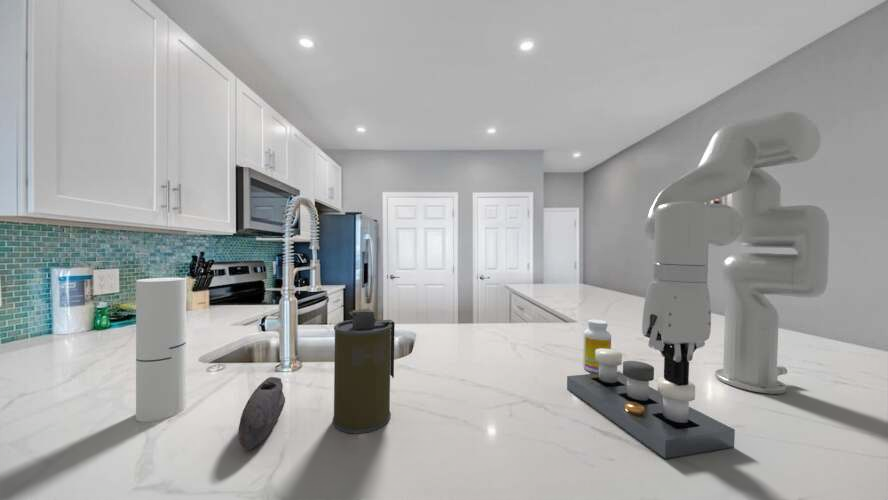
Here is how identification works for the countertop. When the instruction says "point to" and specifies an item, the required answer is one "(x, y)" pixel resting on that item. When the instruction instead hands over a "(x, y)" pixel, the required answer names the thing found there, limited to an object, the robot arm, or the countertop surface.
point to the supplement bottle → (594, 343)
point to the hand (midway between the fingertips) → (675, 381)
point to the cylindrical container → (160, 348)
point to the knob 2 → (676, 399)
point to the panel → (652, 418)
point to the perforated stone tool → (261, 412)
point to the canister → (363, 372)
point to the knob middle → (638, 378)
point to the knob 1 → (608, 364)
